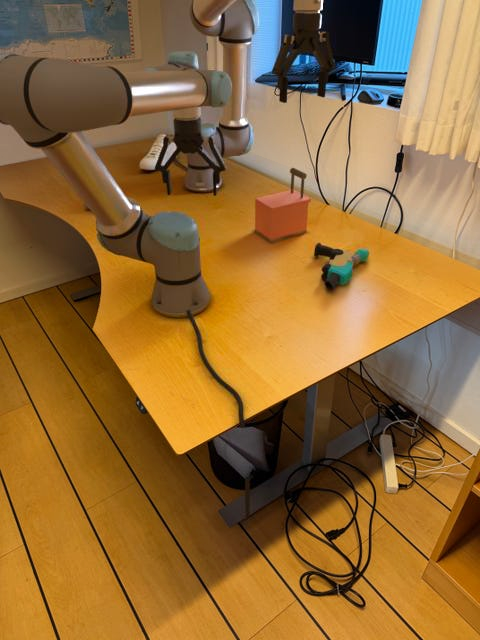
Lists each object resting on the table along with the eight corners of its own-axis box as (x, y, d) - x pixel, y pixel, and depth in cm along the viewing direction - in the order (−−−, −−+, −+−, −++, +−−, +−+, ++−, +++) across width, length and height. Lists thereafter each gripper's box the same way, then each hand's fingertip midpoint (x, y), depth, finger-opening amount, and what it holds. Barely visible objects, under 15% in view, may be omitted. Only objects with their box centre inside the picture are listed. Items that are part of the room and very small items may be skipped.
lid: (293, 192, 160) (294, 165, 154) (310, 201, 153) (313, 173, 147) (255, 201, 154) (255, 173, 148) (271, 211, 147) (272, 182, 141)
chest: (289, 222, 165) (290, 193, 159) (306, 232, 159) (308, 202, 152) (254, 231, 160) (255, 201, 154) (270, 242, 153) (271, 211, 147)
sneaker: (133, 173, 208) (129, 144, 201) (161, 153, 230) (158, 127, 223) (155, 175, 205) (151, 146, 198) (180, 155, 227) (178, 129, 220)
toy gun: (291, 271, 128) (345, 285, 123) (324, 234, 147) (372, 245, 141) (290, 285, 131) (343, 299, 125) (322, 247, 150) (369, 258, 144)
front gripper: (234, 114, 130) (235, 189, 142) (144, 114, 131) (153, 188, 144) (232, 121, 124) (233, 199, 136) (138, 120, 125) (147, 197, 138)
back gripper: (276, 15, 118) (273, 106, 130) (353, 10, 128) (344, 96, 140) (260, 13, 123) (259, 102, 135) (335, 9, 133) (328, 92, 145)
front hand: (192, 193), depth 140 cm, fingers open, 13 cm apart
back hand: (302, 99), depth 138 cm, fingers open, 13 cm apart
